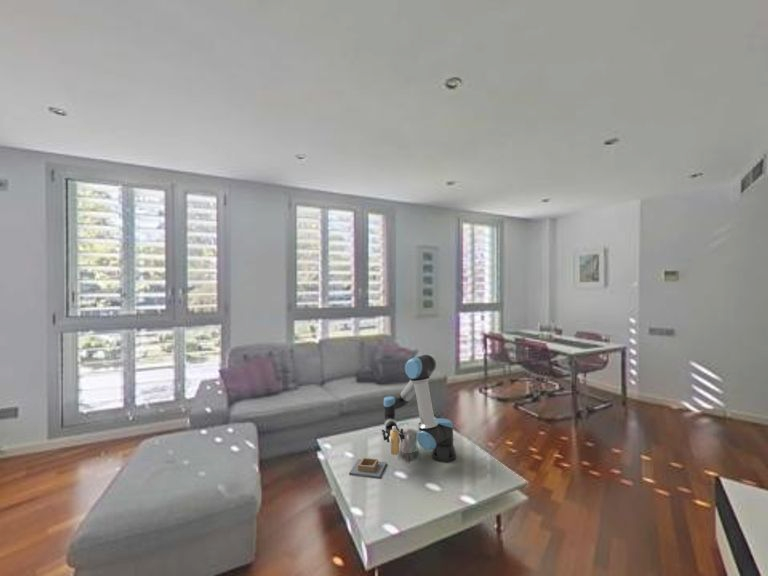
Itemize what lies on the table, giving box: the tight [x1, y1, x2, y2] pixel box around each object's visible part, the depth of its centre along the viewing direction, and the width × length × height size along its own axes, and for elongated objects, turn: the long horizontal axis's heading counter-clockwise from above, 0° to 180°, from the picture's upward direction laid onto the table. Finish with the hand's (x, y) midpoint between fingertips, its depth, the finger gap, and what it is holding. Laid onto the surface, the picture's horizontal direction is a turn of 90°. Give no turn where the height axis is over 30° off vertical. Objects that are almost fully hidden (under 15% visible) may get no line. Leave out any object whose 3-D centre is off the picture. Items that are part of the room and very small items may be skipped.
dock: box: [349, 457, 387, 479], centre depth 214 cm, size 18×16×4 cm
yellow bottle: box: [390, 426, 400, 456], centre depth 212 cm, size 5×5×16 cm
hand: (395, 443), depth 207 cm, fingers closed on yellow bottle, 5 cm apart
